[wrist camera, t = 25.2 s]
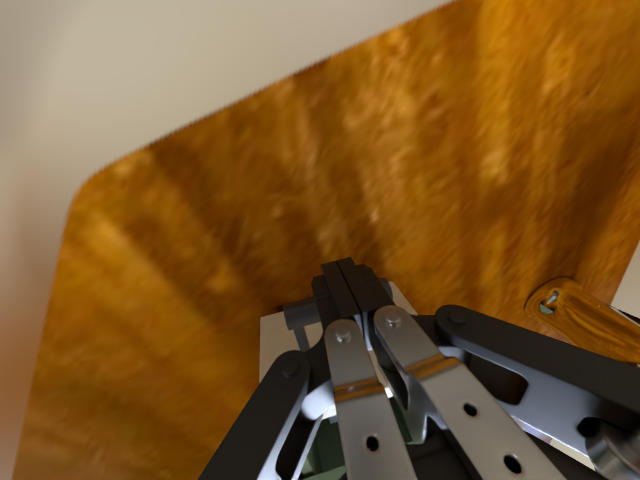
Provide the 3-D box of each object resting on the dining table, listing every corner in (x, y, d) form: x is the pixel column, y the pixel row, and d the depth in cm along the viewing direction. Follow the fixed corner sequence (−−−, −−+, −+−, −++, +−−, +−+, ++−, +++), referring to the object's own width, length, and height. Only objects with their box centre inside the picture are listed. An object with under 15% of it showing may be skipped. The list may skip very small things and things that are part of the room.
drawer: (240, 269, 17) (224, 376, 10) (392, 230, 18) (470, 303, 11) (299, 410, 27) (311, 510, 20) (393, 380, 28) (434, 465, 21)
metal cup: (567, 306, 30) (796, 453, 17) (516, 326, 30) (710, 491, 17) (581, 264, 26) (885, 411, 14) (524, 287, 26) (777, 459, 13)
